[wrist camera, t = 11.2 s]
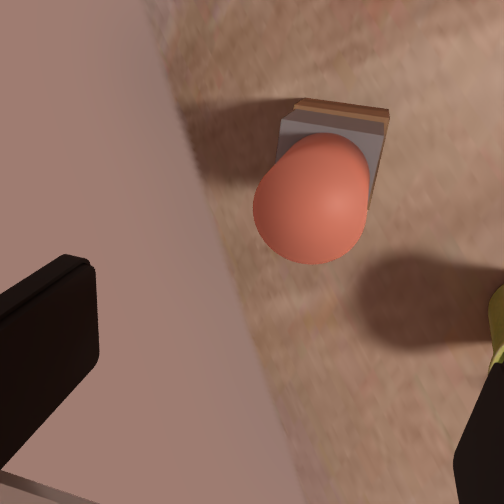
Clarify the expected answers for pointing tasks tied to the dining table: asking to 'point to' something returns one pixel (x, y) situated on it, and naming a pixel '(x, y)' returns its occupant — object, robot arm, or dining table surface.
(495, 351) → the plant pot
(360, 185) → the cylinder
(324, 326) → the dining table surface
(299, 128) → the tower top
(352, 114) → the tower base
